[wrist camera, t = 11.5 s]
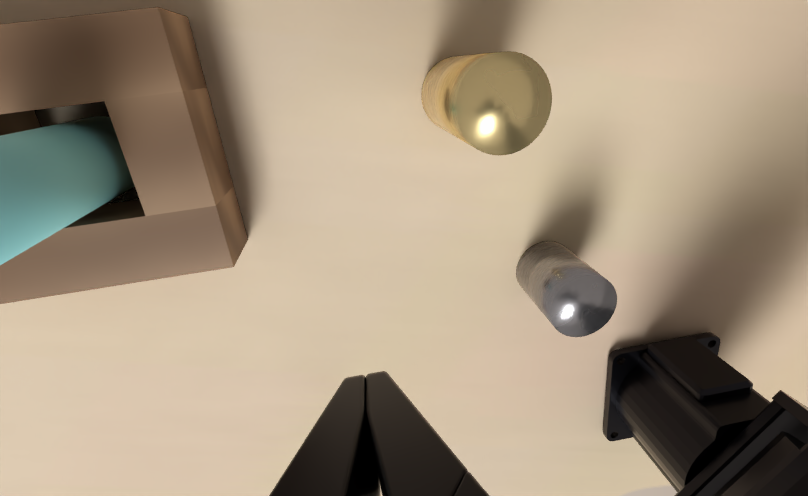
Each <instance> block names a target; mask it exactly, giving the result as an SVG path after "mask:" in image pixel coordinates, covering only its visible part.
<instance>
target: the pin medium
mask: <svg viewBox="0 0 808 496" xmlns="http://www.w3.org/2000/svg"><path fill="white" fill-rule="evenodd" d="M551 103H552V93H551V87H550V83H549V80H548V78H547V75H546V73H545V72H544V70H543V69H542V68H541V66H540V65H539V64H538V63H537V62H536V61H534V60H533V59H532V58H530V57H529V56H526V55H524V54H522V53H518V52H510V51H509V52H496V53H485V54H475V55H465V56H455V57H449V58H446V59H444V60H442V61H440V62H439V63H437V64H436V65H435V66H434V67H433V68H432V69H431V70H430V71H429V73H428V74H427V76H426V78H425V80H424V83H423V87H422V104H423V108H424V110H425V112H426V114H427V116H428V117H429V119H430V120H431V121H432V122H433V123H434V124H436V125H437V126H439V127H440V128H442V129H444V130H445V131H447V132H449V133H451V134H452V135H454V136H456V137H457V138H459V139H461V140H463V141H464V142H466V143H468V144H469V145H471V146H473V147H474V148H476V149H478V150H480V151H482V152H484V153H487V154H492V155H507V154H512V153H515V152H518V151H520V150H522V149H523V148H525V147H526V146H528V145H529V144H530V143H532V142H533V141H534V140H535V139H536V138H537V137H538V135H539V134H540V133H541V131H542V130H543V128H544V126H545V125H546V122H547V120H548V117H549V114H550V110H551Z"/></svg>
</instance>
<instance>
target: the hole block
mask: <svg viewBox="0 0 808 496" xmlns="http://www.w3.org/2000/svg"><path fill="white" fill-rule="evenodd" d="M102 101H104V102H105V104H106V107H107V110H108V113H109V116H110V118H111V121H112V124H113V127H114V129H115V132H116V135H117V138H118V141H119V143H120V146H121V149H122V152H123V155H124V157H125V160H126V163H127V166H128V168H129V171H130V174H131V177H132V180H133V182H134V185H135V188H136V191H137V193H138V196H139V200H132V201H125V202H118V203H111V204H104V205H102V206H100V207H99V208H97V209H95V210H93V211H92V212H90V213H88V214H87V215H85V216H83V217H82V218H80V219H78V220H76V221H75V222H73V223H71V224H70V225H68V226H66V227H65V228H63V229H61V230H59V231H58V232H56V233H54V234H53V235H51V236H49V237H48V238H46V239H44V240H42V241H41V242H39V243H37V244H36V245H34V246H32V247H30V248H29V249H27V250H25V251H24V252H22V253H20V254H19V255H17V256H15V257H13V258H12V259H10V260H8V261H7V262H5V263H3V264H2V265H0V304H3V303H10V302H16V301H22V300H29V299H35V298H41V297H47V296H54V295H60V294H66V293H73V292H79V291H85V290H91V289H98V288H104V287H110V286H117V285H123V284H129V283H136V282H142V281H148V280H154V279H161V278H167V277H173V276H180V275H186V274H192V273H198V272H205V271H211V270H217V269H224V268H230V267H234V265H235V263H236V261H237V260H238V258H239V256H240V254H241V252H242V250H243V248H244V246H245V244H246V242H247V240H248V238H247V234H246V231H245V227H244V223H243V220H242V216H241V212H240V208H239V205H238V201H237V197H236V194H235V190H234V186H233V183H232V179H231V175H230V172H229V168H228V164H227V160H226V157H225V153H224V149H223V146H222V142H221V138H220V135H219V131H218V127H217V124H216V120H215V116H214V113H213V109H212V105H211V101H210V98H209V94H208V90H207V87H206V83H205V79H204V76H203V72H202V68H201V65H200V61H199V57H198V53H197V50H196V46H195V42H194V39H193V35H192V31H191V28H190V24H189V20H188V17H186V16H183V15H180V14H177V13H174V12H171V11H168V10H165V9H162V8H159V7H153V8H144V9H135V10H125V11H116V12H107V13H98V14H89V15H80V16H71V17H62V18H53V19H44V20H35V21H26V22H17V23H8V24H0V136H1V135H6V134H11V133H16V132H21V131H26V130H31V129H36V128H41V126H40V124H39V122H38V119H37V117H36V114H35V112H34V110H39V109H47V108H54V107H62V106H70V105H78V104H86V103H94V102H102Z"/></svg>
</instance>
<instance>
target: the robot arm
mask: <svg viewBox="0 0 808 496" xmlns="http://www.w3.org/2000/svg"><path fill="white" fill-rule="evenodd" d="M719 345H720V339H719V337H717V336H716V335H714V334H713V333H703V334H698V335H693V336H687V337H682V338H677V339H671V340H666V341H661V342H655V343H650V344H645V345H639V346H634V347H629V348H623V349H618V350H615V351H613V352H612V353H611V354H610V355H609V360H608V373H607V386H606V399H605V412H604V425H603V434H604V435H605V437H606V438H607V439H608V440H609V441H616V440H621V439H626V438H631V437H634V439H635V440H636V441H637V442H638V444H639V445H640V446H641V447H642V449H643V450H644V451H645V452H646V454H647V455H648V456H649V457H650V459H651V460H652V461H653V462H654V464H655V465H656V466H657V467H658V469H659V470H660V471H661V472H662V474H663V475H664V476H665V477H666V479H667V480H668V481H669V482H670V484H671V485H672V486H673V487H674V488H675V490H676V491H677V492H678V493H677V494H676V495H675V496H808V407H806V406H804V405H803V404H801V403H800V402H798V401H797V400H795V399H794V398H792V397H791V396H789V395H787V394H786V393H784V392H783V391H781V390H780V391H779V392H778V393H777V394H776V395H775V396H774V397H773V398H772V399H773V401H772V402H771V403H770V402H769V401H768V400H767V399H765V398H764V397H763V396H761V395H760V394H759V393H758V392H756V391H755V390H754V389H752V387H753V383H752V382H751V381H750V380H748V379H747V378H746V377H745V376H743V375H742V374H741V373H739V372H738V371H737V370H735V369H734V368H733V367H731V366H730V365H729V364H727V363H726V362H725V361H723V360H722V359H721V358H720V357H718V351H719ZM619 358H620V359H619ZM618 359H619V360H618ZM380 486H381V490H382V495H383V496H489V495H488V493H487V492H486V491H485V490H484V489H483V488H482V487H481V485H480V484H479V483H478V482H477V481H476V479H475V478H474V477H473V476H472V475H471V473H469V472H468V471H467V469H466V468H465V466H464V465H463V464H462V463H461V462H460V460H459V459H458V458H457V457H456V455H455V454H454V453H453V452H452V451H451V449H450V448H449V447H448V446H447V445H446V443H445V442H444V441H443V440H442V439H441V437H440V436H439V435H438V434H437V432H436V431H435V430H434V429H433V428H432V426H431V425H430V424H429V423H428V422H427V420H426V419H425V418H424V417H423V416H422V414H421V413H420V412H419V411H418V409H417V408H416V407H415V406H414V405H413V403H412V402H411V401H410V400H409V399H408V397H407V396H406V395H405V394H404V393H403V391H402V390H401V389H400V388H399V386H398V385H397V384H396V383H395V382H394V380H393V379H392V378H391V377H390V376H389V374H388V373H387V372H385V371H382V372H376V373H371V374H368V375H367V376H366V377H365V376H364V375H359V376H353V377H348V378H346V379H344V380H343V382H342V384H341V385H340V387H339V388H338V390H337V391H336V393H335V394H334V396H333V398H332V399H331V401H330V402H329V404H328V405H327V407H326V408H325V410H324V411H323V413H322V415H321V416H320V418H319V419H318V421H317V422H316V424H315V425H314V427H313V429H312V430H311V432H310V433H309V435H308V436H307V438H306V439H305V441H304V443H303V444H302V446H301V447H300V449H299V450H298V452H297V453H296V455H295V457H294V458H293V460H292V461H291V463H290V464H289V466H288V467H287V469H286V470H285V472H284V474H283V475H282V477H281V478H280V480H279V481H278V483H277V484H276V486H275V488H274V489H273V491H272V492H271V494H270V495H269V496H380Z"/></svg>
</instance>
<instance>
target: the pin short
mask: <svg viewBox="0 0 808 496" xmlns="http://www.w3.org/2000/svg"><path fill="white" fill-rule="evenodd" d="M516 277H517V281H518V283H519V285H520V286H521V287H522V288H523V290H524V291H525V292H526V293H527V294H528V296H529V297H530V298H531V299H532V301H533V302H534V303H535V304H536V305H537V307H538V308H539V309H540V310H541V311H542V313H543V314H544V315H545V316H546V317H547V319H548V320H549V321H550V322H551V323H552V325H553V326H554V327H555V328H556V329H557V330H558V331H559V332H560V333H562V334H564V335H566V336H570V337H582V336H586V335H589V334H592V333H594V332H596V331H597V330H599V329H600V328H602V327H603V326H604V325H605V324H606V323H607V322H608V321H609V319H610V318H611V317H612V315H613V313H614V311H615V308H616V304H617V295H616V291H615V289H614V287H613V285H612V284H611V283H610V282H609V281H608V280H607V279H605V278H604V277H603V276H601V275H600V274H599V273H598V272H596V271H595V270H594V269H593V268H591V267H590V266H589V265H588V264H586V263H585V262H584V261H583V260H581V259H580V258H579V257H577V256H576V255H575V254H574V253H572V252H571V251H570V250H569V249H567V248H566V247H565V246H563V245H562V244H560V243H557V242H553V241H546V242H541V243H538V244H536V245H534V246H532V247H530V248H529V249H528V250H527V251H526V252H525V253H524V254H523V255H522V257H521V258H520V260H519V262H518V265H517V269H516Z"/></svg>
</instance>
